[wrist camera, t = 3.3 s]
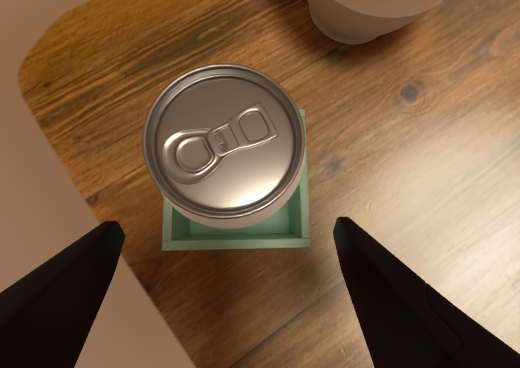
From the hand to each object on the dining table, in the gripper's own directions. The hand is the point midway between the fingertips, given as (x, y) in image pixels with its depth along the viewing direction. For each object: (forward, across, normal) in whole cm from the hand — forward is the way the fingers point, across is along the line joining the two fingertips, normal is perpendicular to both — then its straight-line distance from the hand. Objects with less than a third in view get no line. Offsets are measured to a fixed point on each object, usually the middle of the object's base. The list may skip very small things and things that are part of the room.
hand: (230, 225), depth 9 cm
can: (+9, 0, +5) cm, 11 cm away
